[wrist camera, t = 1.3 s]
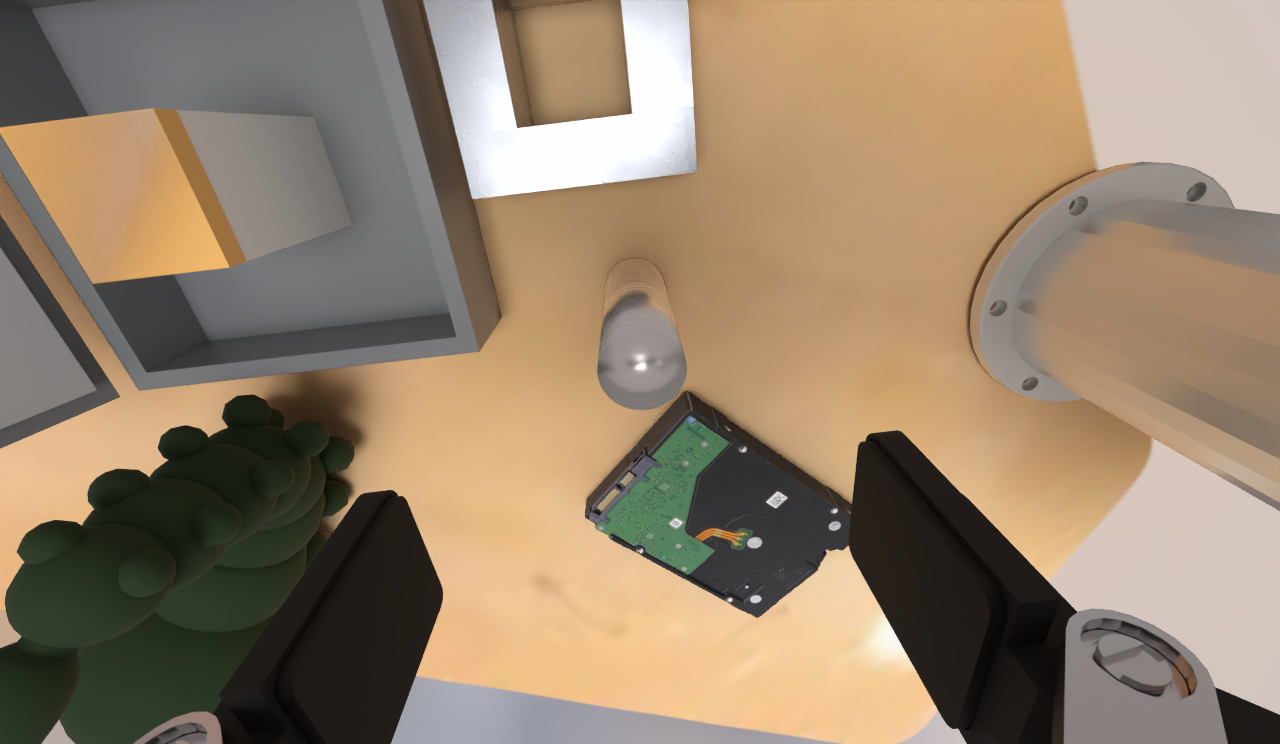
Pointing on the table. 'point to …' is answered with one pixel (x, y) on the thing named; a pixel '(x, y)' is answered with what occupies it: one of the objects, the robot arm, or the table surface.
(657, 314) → the rod
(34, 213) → the case
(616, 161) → the socket block
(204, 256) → the block
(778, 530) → the disk drive
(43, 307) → the lid
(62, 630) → the toy figurine
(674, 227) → the table surface
